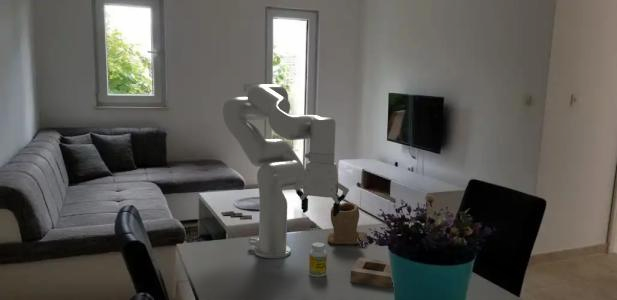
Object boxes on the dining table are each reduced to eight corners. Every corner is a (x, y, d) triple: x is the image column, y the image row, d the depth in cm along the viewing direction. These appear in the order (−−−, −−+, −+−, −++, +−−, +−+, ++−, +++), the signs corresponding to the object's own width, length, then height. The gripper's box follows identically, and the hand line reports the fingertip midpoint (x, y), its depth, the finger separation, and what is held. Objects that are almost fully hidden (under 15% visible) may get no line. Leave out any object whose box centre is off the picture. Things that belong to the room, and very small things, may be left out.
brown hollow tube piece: (327, 248, 180) (329, 207, 177) (326, 237, 191) (328, 199, 189) (369, 249, 179) (372, 209, 177) (366, 238, 191) (368, 200, 189)
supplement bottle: (319, 269, 160) (320, 240, 158) (329, 275, 155) (330, 245, 154) (305, 272, 157) (306, 243, 155) (315, 278, 152) (316, 248, 151)
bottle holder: (350, 281, 151) (350, 270, 150) (358, 267, 162) (359, 257, 161) (390, 288, 147) (390, 276, 146) (395, 273, 158) (396, 262, 158)
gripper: (290, 158, 149) (289, 213, 152) (346, 162, 144) (344, 219, 147) (298, 154, 156) (297, 207, 159) (352, 158, 151) (350, 213, 154)
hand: (320, 213), depth 153 cm, fingers open, 9 cm apart
